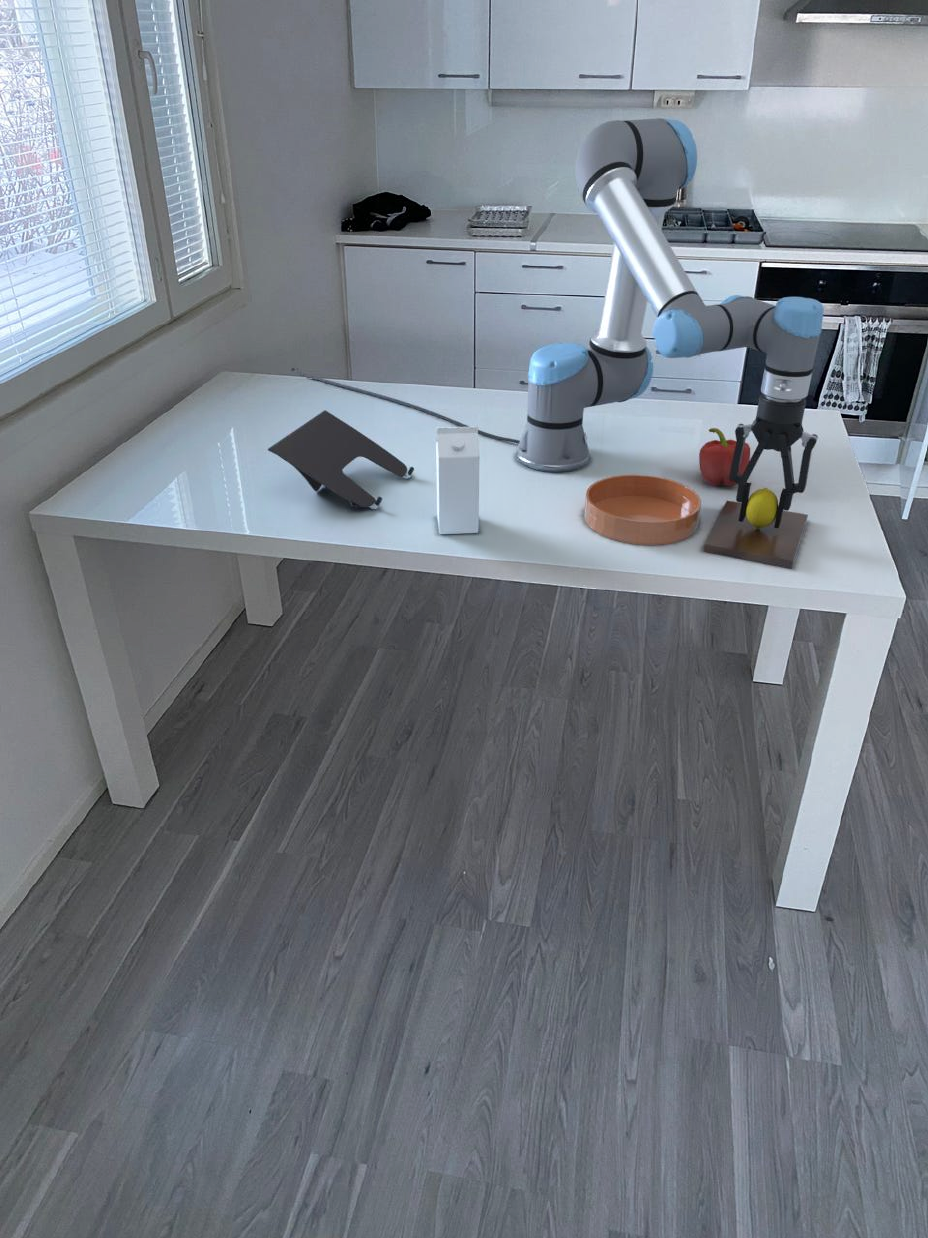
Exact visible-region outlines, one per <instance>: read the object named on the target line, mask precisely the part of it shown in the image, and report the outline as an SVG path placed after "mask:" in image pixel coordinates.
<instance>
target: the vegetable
mask: <svg viewBox="0 0 928 1238" xmlns="http://www.w3.org/2000/svg"><path fill="white" fill-rule="evenodd" d="M708 432H710V433H713V434H717V436H718V438H719V440H717V439H713V440H711V441H707V442H705V443H704V445H702V446H701V448H700V449H699V453H698V459H699V460H698V462H699V463H698V465H699V470H700V474H701V476H702V478H703V480H704V481H705V482H706V483H708V484H709V485H711V486H720V485H724V486H728V487H730V486H733V485H737V483H735V482H734V481H733V482H731V481H730V480H729V474H730V470H731V465H732V460H733V455H734V451H735V446H736V440H734V439H726V437H725V435H724V433H723V431H721V430H720V429H719V428H716V427H711V428H710V429H708ZM750 459H751V446H750V445H749V443H748V442H746V441H745V445H744V449H743V454H742V459H741V463H740V468H739V472H738V473H739V474H741V475H743V473H744V471H745V469H746V467H747V465H748V463H749V461H750Z"/></svg>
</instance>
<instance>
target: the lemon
mask: <svg viewBox="0 0 928 1238" xmlns="http://www.w3.org/2000/svg"><path fill="white" fill-rule="evenodd" d="M778 505H779V498H778V497H777V495H776V493H774V492H773V491H772V490H770V489H769V488H768V487H763V488H759V489H757V490H754V492H752V493H751V494H750V495H749V498H748V502H747V504H746V509H745V513H746V518H747V520H748V522H749V523H750V524H751V525H753V526H755V528H756V529H761V528H762V527H766V526H769V525H770V524H771V523H772V522H773V521H774V520H775V518H776V515H777V510H778Z"/></svg>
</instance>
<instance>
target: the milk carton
mask: <svg viewBox="0 0 928 1238" xmlns="http://www.w3.org/2000/svg"><path fill="white" fill-rule="evenodd" d="M478 430H479V427H478V426H469V427H461V426H451V427H450V426H447V427H443V426H442V427H436V440H435V448H436V449H435V452H436V455H435V457H436V458H435V459H436V518H437V527H438V533H439V535H456V534H457V535H458V534H459V535H460V534H478V533H479V528H480V527H479V526H480V525H479V521H480V443H479V441H480V440H479V433H478Z"/></svg>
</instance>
